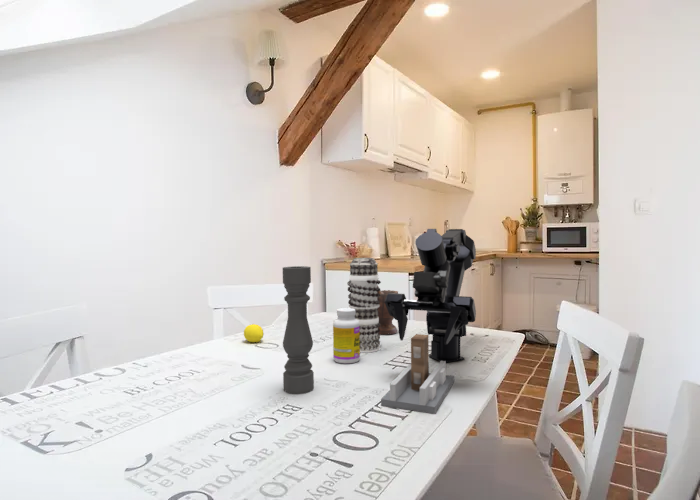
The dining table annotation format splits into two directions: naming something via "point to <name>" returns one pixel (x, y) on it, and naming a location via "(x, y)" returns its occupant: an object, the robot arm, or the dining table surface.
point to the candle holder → (297, 331)
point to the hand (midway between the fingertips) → (422, 341)
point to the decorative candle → (365, 301)
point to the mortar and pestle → (385, 314)
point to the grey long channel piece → (419, 391)
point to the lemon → (253, 333)
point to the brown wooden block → (419, 360)
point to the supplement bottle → (346, 336)
